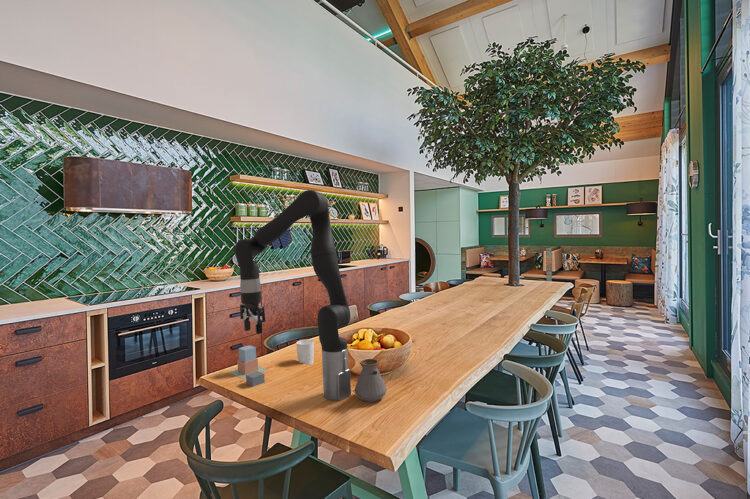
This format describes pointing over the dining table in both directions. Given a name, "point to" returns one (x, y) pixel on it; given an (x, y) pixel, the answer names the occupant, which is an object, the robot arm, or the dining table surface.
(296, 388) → the dining table surface
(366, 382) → the coffee pot
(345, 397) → the robot arm
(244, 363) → the base brick
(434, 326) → the dining table surface
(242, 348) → the blue brick
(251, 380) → the slate brick
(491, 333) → the dining table surface
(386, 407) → the dining table surface
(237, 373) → the build plate
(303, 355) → the white cup
